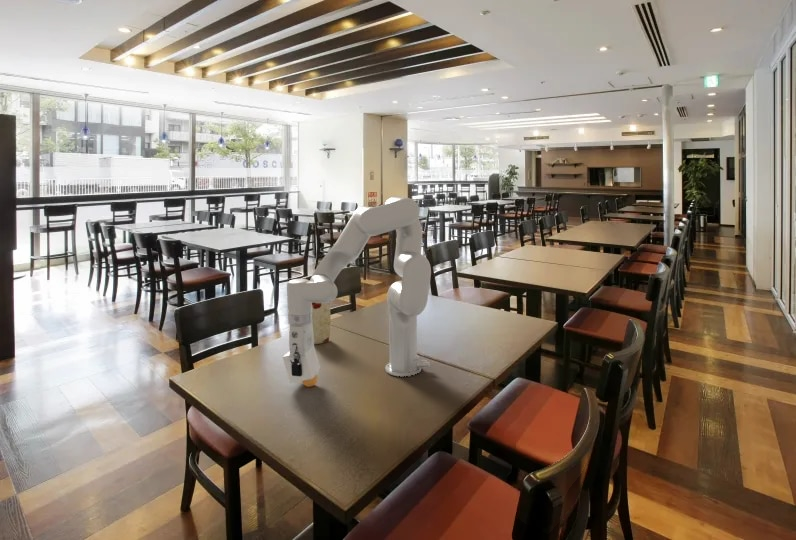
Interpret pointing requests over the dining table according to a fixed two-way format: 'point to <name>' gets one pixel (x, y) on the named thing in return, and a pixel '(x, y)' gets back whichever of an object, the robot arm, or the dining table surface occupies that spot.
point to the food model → (321, 322)
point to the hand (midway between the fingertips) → (301, 370)
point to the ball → (310, 381)
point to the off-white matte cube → (303, 366)
